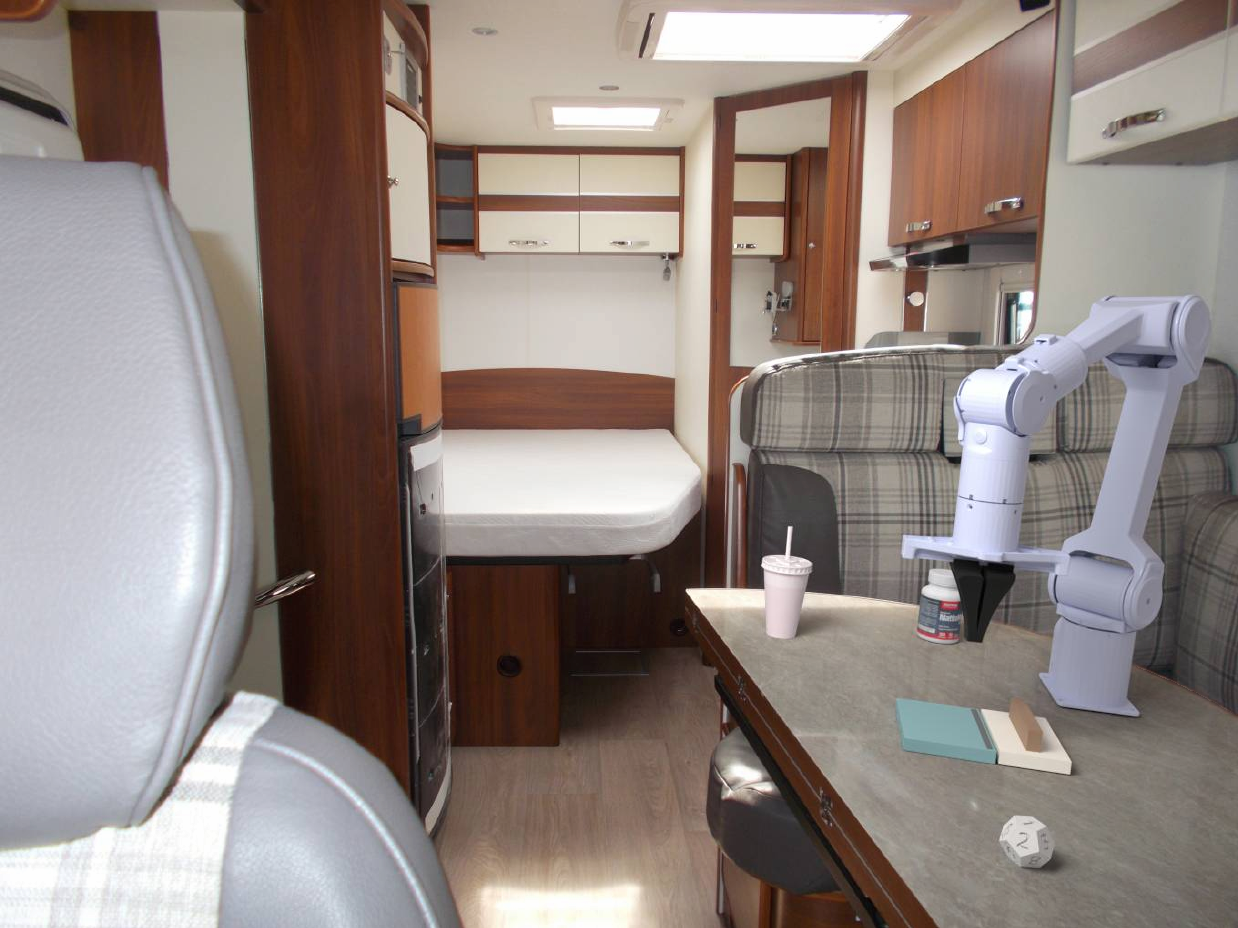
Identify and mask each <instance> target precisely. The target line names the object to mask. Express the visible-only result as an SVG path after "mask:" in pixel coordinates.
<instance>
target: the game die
mask: <svg viewBox="0 0 1238 928" xmlns="http://www.w3.org/2000/svg"><path fill="white" fill-rule="evenodd" d="M998 841H999V843H1000V845H1001V848H1002V850H1003V851H1004V854H1005V855H1006V857H1007V858H1008V859H1009V860H1011V861H1012V862H1013V863H1015V864H1016V865H1017V864H1018V865H1017V866H1018V867H1020V868H1031V869H1032V868H1033V869H1040V868H1042V867H1043V866H1044V865H1046V864H1047V863H1048V862H1049V861H1050V860H1051V859H1052V856H1053V852H1054V848H1055V844H1056V842H1055V840H1054V838H1053V837H1052V834H1051V833H1050V831H1049V829H1048V826H1046V825H1045V824H1044V823H1043V822H1041V821H1040V820H1038V819H1037V818H1035V817H1034V816H1030V815H1029V816H1028V815H1013V817H1011V818H1010V819H1009V820H1008V821H1007V822H1006V823H1005V824H1004V825H1003V826H1002V830H1001V833H1000V836H999V840H998Z"/></svg>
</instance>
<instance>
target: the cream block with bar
mask: <svg viewBox="0 0 1238 928" xmlns="http://www.w3.org/2000/svg"><path fill="white" fill-rule="evenodd" d="M980 715H981V717H982V719H983V722H984V724H985V726H986V729H987V731H988V733H989V736H990V738H991V740H992V743H993V745H994V747H995V750H996V759H995V760H996V761H997V763H998V764H999V765H1004V766H1011V767H1017V768H1018V767H1019V768H1024V769H1029V770H1037V771H1044V772H1050V773H1055V774H1056V773H1057V774H1062V775H1063V774H1064V775H1071V772H1072V771H1071V769H1072V763H1073V762H1072V760H1071V757H1069V755H1068V753H1067V752H1066V750H1065V749H1064V747H1063V745H1062V744H1061V741H1060V740H1059V738H1058V737H1057V735H1056V734H1055V732H1054V730H1053V728H1052V726H1051V725H1050V723H1049V721H1048V720H1047V719H1046V717H1042V716H1036V715H1035V716H1034V714H1033V711H1032V710H1031V708H1030V707H1029V705H1028V704H1027V702H1026V700H1025V698H1019V697H1015V696H1014V697H1013V696H1011V697H1010V705H1009V711H1008V712H1006V711H999V710H991V709H987V708H986V709H985V708H981V711H980Z"/></svg>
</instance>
